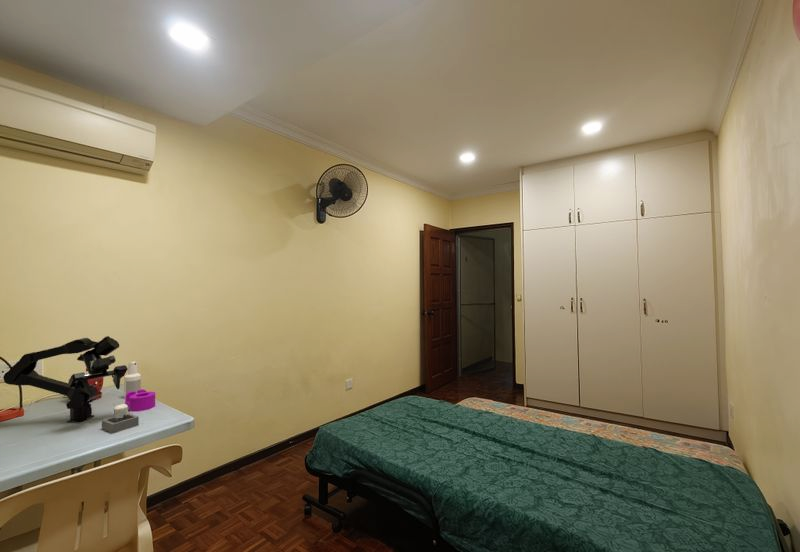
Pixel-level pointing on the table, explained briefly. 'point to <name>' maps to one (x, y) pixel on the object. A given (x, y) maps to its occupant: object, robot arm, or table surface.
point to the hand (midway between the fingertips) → (105, 391)
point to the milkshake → (120, 412)
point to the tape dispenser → (140, 400)
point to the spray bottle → (132, 379)
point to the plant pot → (96, 385)
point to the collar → (120, 423)
